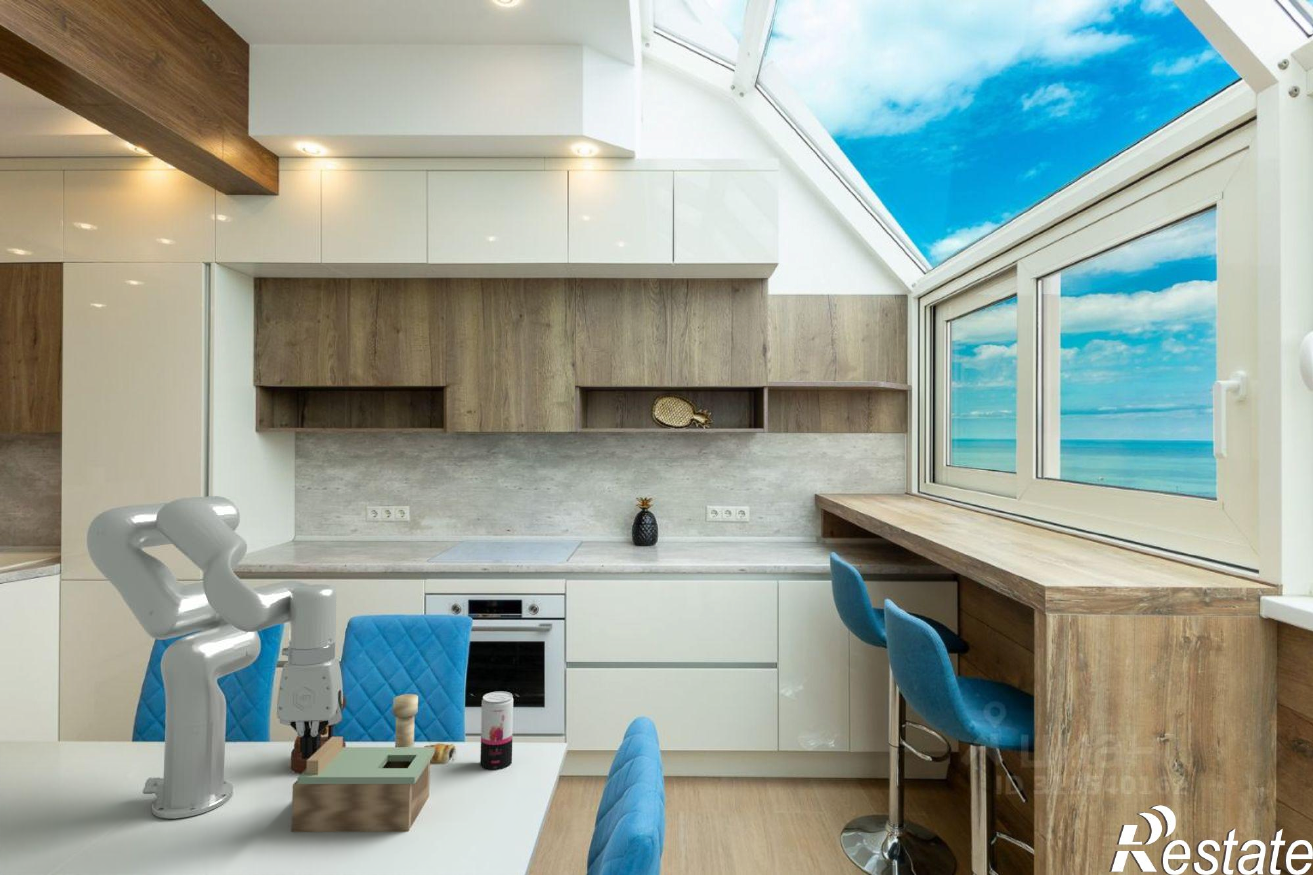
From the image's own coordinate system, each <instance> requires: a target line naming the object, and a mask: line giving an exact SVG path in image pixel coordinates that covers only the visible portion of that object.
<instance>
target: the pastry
mask: <svg viewBox="0 0 1313 875" xmlns="http://www.w3.org/2000/svg"><path fill="white" fill-rule="evenodd" d="M424 747H435V752H434V755H433V757H432V758H431V760H430V764H440V765H446V764H451V763H452V762H453V760H454V759H455V758H456V757H457V748H456V745H455V744H454V743H451V744H449V743H448V744H447V743H441V742H437V743H435V744H429V745H425V746H424Z"/></svg>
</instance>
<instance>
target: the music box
mask: <svg viewBox="0 0 1313 875" xmlns="http://www.w3.org/2000/svg"><path fill="white" fill-rule="evenodd" d="M346 705H347V698H346V695H345V694H344V693H343V706H342V709H341V712H342V711H343V710H345V707H346ZM312 722H313V721H310V723H311V728H312ZM341 722H342V720H341V721H340V722H339V723H338V724H340V723H341ZM334 726H336V724H333V725H328V726H326V727H325V728H324V729H323V730H322V731H321V747H322V746H323V745H324V744H325V743H326V742H327V741H328V740H329V739H330V738H331V737H334ZM326 735H327V736H326ZM342 747H347V745H346V742H345V741H344V740H343V746H342ZM307 760H308V758H306V759H302V752H300V737H299V736H298V735H297V736H296V739H295V741H294V744H293V749H292V750H291V753H290V769H291V770H290V771H292V772H293V773H295V774H298V775H300V774H302V773H303V772H304V771H305V770H306V769H307Z"/></svg>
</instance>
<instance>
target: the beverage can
mask: <svg viewBox="0 0 1313 875" xmlns="http://www.w3.org/2000/svg"><path fill="white" fill-rule="evenodd" d="M480 719H481V722H480V725H481V726H480V755H479V756H480V764H479V765H480V767H481V768H482V769H484V770H487V771H499V770H503V769H504V770H505V769H506V768H508V767H510V766H511V765H512V763H513V736H514V735H513V733H514V732H513V730H514V698H513V694H512V693H511V692H508V691H503V690H502V691H501V690H500V691H493V692H489V693H485V694H484V695H483V696H482V700H481V718H480Z"/></svg>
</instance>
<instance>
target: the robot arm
mask: <svg viewBox="0 0 1313 875" xmlns="http://www.w3.org/2000/svg"><path fill="white" fill-rule="evenodd" d="M240 516H241V515H240V511H239V508H238V507H237V505H236V504H235V503H234V502H233V501H232V500H230V499H228V498H226V497H223V496H220V495H219V496H217V495H216V496H215V495H210V496H198V497H185V498H177V499H174V500H171V501H169V502H166V503H150V504H137V505H126V506H125V505H124V506H120V507H114V508H110V509H108V510H105V511H103V512H102V513H99V514H98V515H96V516H95V517H94V518H93V519H92V521H91V522H90V524H89V526H88V528H87V529H88V530H87V534H86V545H87V546H86V547H87V552H88V554H89V558H90V559H91V561H92V563H93V564H94V566H95V567H96V569H97V570H98V571H99V572H100V573H101V574H102V575H103V577H105V578H106V579H107V580H108V581H109V582H110V584H111V585H112V586H113V587H114V588H115V589H116V591H118V593H119V594H120V596H121V598H122V599H123V602H125V604H126V605H127V606H128V608H129V610H130V611H131V613H132V614H133V615H134V617H135V618H136V620H137V621H138V623H139V624H140V626H141V627H142V629H143V630H144V631H145V632H146V634H148V635H149V637H151V638H152V639H155V640H159V641H160V640H161V641H163V640H170V639H173V638H179V637H181V638H179V639H177V640H175V641H174V642H172V643H171V644H169V646H168V647H167V648H166V649H165V650H164V652H163V654H162V655H161V660H160V671H161V677H162V683H163V688H164V694H165V720H164V721H165V722H164V724H165V730H164V736H165V737H164V755H163V758H164V759H163V776H162V777H148V778H147V779H146V781H145V782H144V787H143V789H142V793H143V795H152V794H153V795H156V799H154V801H153V802H152V804H151V812H152V813H151V814H153V815H154V816H155V817H157V818H162V819H168V820H169V819H173V820H174V819H182V818H188V817H189V818H190V817H195V816H198V815H201V814H205V813H207V812H210V811H212V810H214V809H216V808H218V807H220V806H222V805H223V804H225V803H226V802H228V800H230V798H231V797H232V795H233V793H234V792H233V791H234V787H233V785H232V783H230V782H228V781H225V779H224V778H225V759H226V758H225V754H226V753H225V752H226V751H225V750H226V748H225V747H226V729H227V728H226V727H227V725H226V724H227V723H226V722H227V721H226V720H227V700H226V696H225V694H224V692H223V691H222V689H221V688H220V686H219V684H218V679H220V678H222V677H224V676H227V675H230V674H232V673H235V672H238V671H240V670H243V669H245V668H246V667H249V666H250V665H252V664H253V663H254V662H255V661H256V660H257V659H258V658H259V655H260V653H261V648H262V644H261V642H262V641H261V638H260V635H259V633H258V631H263V630H265V629H269V628H271V627H273V626H277V625H281V624H285V623H289V636H288V637H289V638H288V640H289V643H288V646H287V647H283V648H282V650H281V655H282V656H286V657H287V661H288V662H285V663H284V664H283V668H282V671H281V674H280V675H281V676H280V680H279V685H278V686H279V687H278V692H277V702H276V716H277V718H278V721H279V723H280V724H281V725H284V726H289V727H290V726H291V727H292V729H294V731H296V734H297V736H299V737H300V752H302V759H306V758H308V759H309V758H310V757H311V756H312V755H313V754H314V753H315V752H316V751H317V750H319V749H320V748H321V737H322V735H321V731H322V730H323V729H324V728H325V727H326V726H328V725H333V724H335V725H337V724H340V723H341V722H342V720H343V716H342V711H341V709H342V706H343V694H344V692H343V689H344V688H343V676H342V670H341V666H340V665H341V664H340V661H339V658H336V632H337V631H336V628H337V624H336V623H337V591H336V588H334V586H332V585H330V584H325V583H324V584H322V583H321V584H310V583H305V582H301V581H297V580H284V581H279V582H275V583H270V584H265V585H261V586H258V587H254V588H251V587H250V586H249V585H247V584H246V583H245V582H244V581H243V580H242V579H240V577H238V575H236V573H235V572H234V571H233V569H235V568H236V567H237V566H238V565H239V564H240V562H241V561H242V560H243V558H244V557H245V555H246V553H247V551H248V550H247V549H248V544H247V542H246V540H245V539H244V537H241V536H240V535H239V534H238V532H236V530H237V529H238V526H239V524H240V520H241V519H240V518H241V517H240ZM165 545H166V546H167V545H173V546H174V547H175V548H176V549H177V550H178V551H180V552H181V553H182V554H183V555H184V556H185V557H187V558H188V559H189V560H190V561H191V562H192V563H193V564H194V566H195V565H196V567H198V569H200V570H201V571H202V573H203V575H202V576H203V577H202V581H201V582H200V581H199V582H194V583H190V584H183V583H181V582H180V581H178V580H177V578H176V577H175V576H174V574H173V573H172V572H171V570H170V569H169V567H168V566H167V565H166V564H165V563H164V562H162V561H161V560H160V559H158V558H157V557H155V556H153V555H152V554H149V553H148V552H146V551H144V550H143V548H151V547H152V548H153V547H158V546H165ZM182 636H183V637H182ZM310 721H313V722H312V728H311V723H310ZM340 721H341V722H340ZM339 722H340V723H339Z"/></svg>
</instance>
